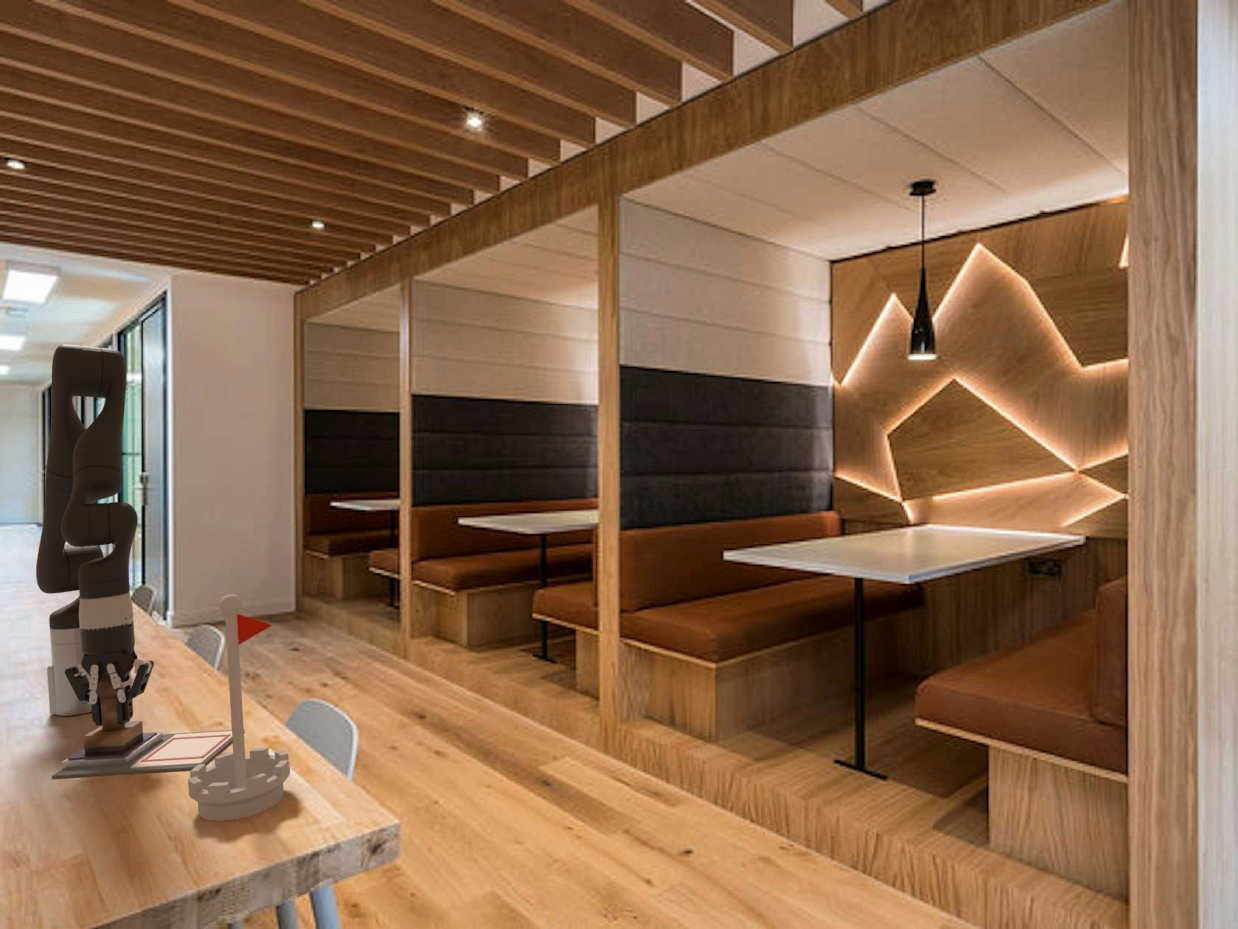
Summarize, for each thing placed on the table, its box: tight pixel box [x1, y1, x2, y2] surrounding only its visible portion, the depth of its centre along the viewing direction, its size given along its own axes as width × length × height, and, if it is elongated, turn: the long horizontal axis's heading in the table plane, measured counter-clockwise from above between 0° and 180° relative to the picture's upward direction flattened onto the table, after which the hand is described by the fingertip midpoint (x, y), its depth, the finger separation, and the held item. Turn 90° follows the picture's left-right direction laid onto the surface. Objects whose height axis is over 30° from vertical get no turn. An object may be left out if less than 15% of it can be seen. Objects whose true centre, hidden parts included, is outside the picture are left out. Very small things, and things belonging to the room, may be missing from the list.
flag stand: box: [187, 593, 291, 822], centre depth 110 cm, size 13×13×30 cm
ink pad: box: [61, 731, 163, 770], centre depth 130 cm, size 10×11×2 cm
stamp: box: [83, 678, 144, 753], centre depth 130 cm, size 6×6×12 cm
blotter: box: [51, 729, 233, 779], centre depth 130 cm, size 23×16×1 cm
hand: (113, 722), depth 130 cm, fingers closed on stamp, 3 cm apart
